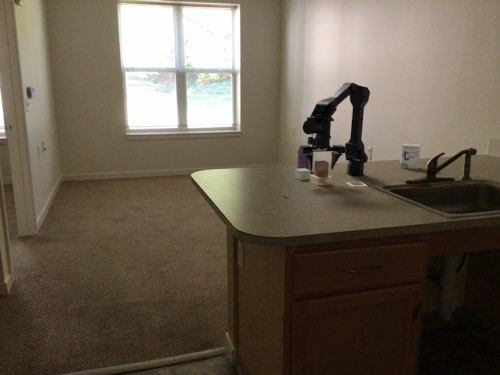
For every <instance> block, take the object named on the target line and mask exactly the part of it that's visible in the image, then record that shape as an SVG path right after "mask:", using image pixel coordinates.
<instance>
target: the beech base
mask: <svg viewBox="0 0 500 375" xmlns="http://www.w3.org/2000/svg"><path fill="white" fill-rule="evenodd" d="M309 182H310V183H312V184H313V185H315V186H325V185H328V186H329V185H333V176H331V175H329V174H328V177H317V176H315V175H314V173H313V174H310V179H309Z"/></svg>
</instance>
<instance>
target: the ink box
mask: <svg viewBox="0 0 500 375" xmlns="http://www.w3.org/2000/svg"><path fill="white" fill-rule="evenodd" d="M400 152H401V153H400V166H399V167H400V169H410V170H412V169H413V170H418V169H419V163H420V153H421V144H419V143H418V144H417V143H416V144H415V143H402V145H401V151H400Z"/></svg>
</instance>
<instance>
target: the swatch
mask: <svg viewBox="0 0 500 375" xmlns="http://www.w3.org/2000/svg"><path fill="white" fill-rule="evenodd" d="M345 184H346V185H348V186H350V187H351V188H357V187H358V188H359V187H360V188H361V187H369V186H368V185H367V184H365V183H363V182H361V181H347V182H346V181H345Z"/></svg>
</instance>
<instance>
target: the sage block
mask: <svg viewBox="0 0 500 375" xmlns="http://www.w3.org/2000/svg"><path fill="white" fill-rule="evenodd" d="M310 174H311V170H308V169H306V168H302V169H297V168H295V169H294V178H295V179H297V180H300V181H302V180H304V181H305V180H310Z"/></svg>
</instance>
